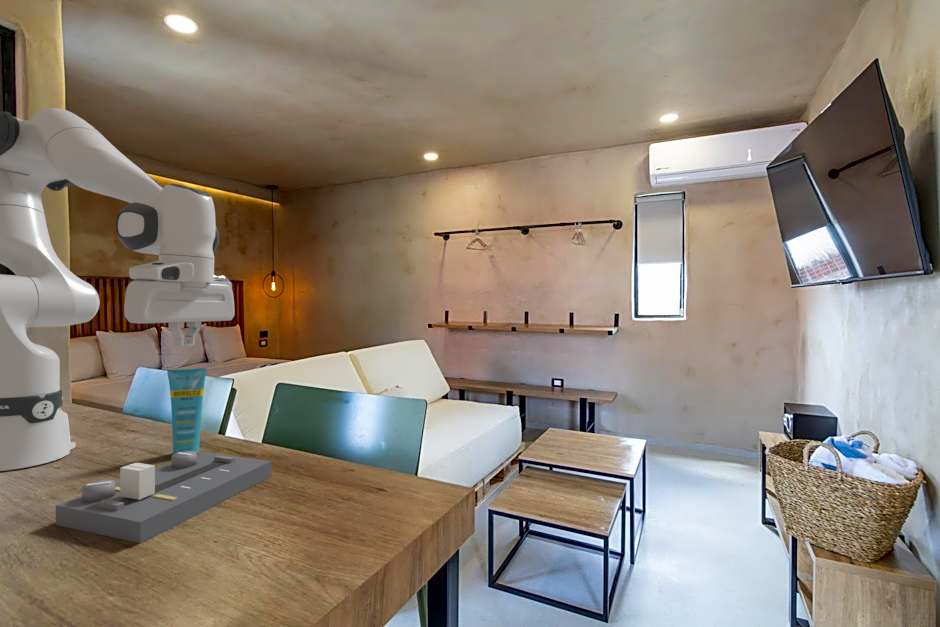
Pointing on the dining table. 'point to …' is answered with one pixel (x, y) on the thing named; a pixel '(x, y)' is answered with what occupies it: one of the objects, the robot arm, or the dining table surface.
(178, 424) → the tube
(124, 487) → the fader cap
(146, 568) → the dining table surface
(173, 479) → the console
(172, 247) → the robot arm
